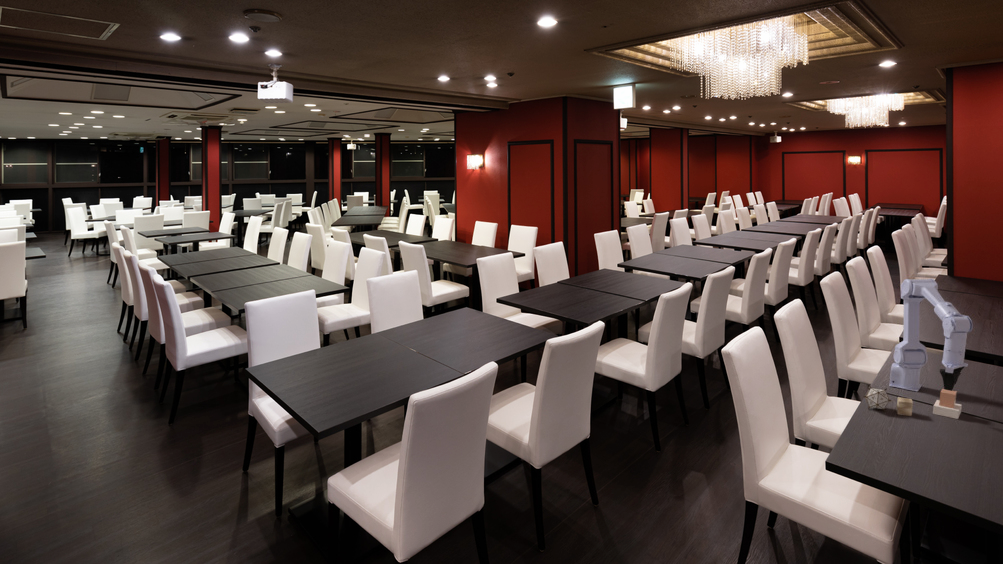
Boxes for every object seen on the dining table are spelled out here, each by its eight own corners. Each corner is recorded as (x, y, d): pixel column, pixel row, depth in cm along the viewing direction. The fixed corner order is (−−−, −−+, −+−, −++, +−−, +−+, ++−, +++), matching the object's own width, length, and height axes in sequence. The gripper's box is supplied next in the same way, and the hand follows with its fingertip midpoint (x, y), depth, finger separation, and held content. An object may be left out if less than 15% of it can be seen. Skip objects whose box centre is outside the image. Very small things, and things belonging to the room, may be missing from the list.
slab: (932, 413, 198) (933, 405, 197) (936, 407, 203) (937, 399, 202) (957, 419, 193) (958, 410, 192) (960, 412, 198) (961, 404, 197)
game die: (878, 420, 202) (880, 406, 196) (856, 405, 209) (858, 390, 202) (896, 406, 204) (899, 391, 197) (873, 391, 210) (876, 376, 203)
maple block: (897, 414, 199) (898, 401, 198) (896, 410, 202) (897, 397, 201) (911, 416, 197) (912, 403, 196) (910, 411, 200) (911, 398, 199)
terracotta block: (939, 405, 197) (940, 392, 196) (941, 401, 200) (942, 388, 199) (953, 408, 195) (955, 394, 194) (955, 404, 197) (956, 391, 196)
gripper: (966, 357, 186) (961, 395, 188) (972, 347, 196) (967, 383, 198) (939, 353, 191) (935, 390, 193) (946, 343, 201) (942, 378, 203)
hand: (950, 386), depth 196 cm, fingers open, 7 cm apart
